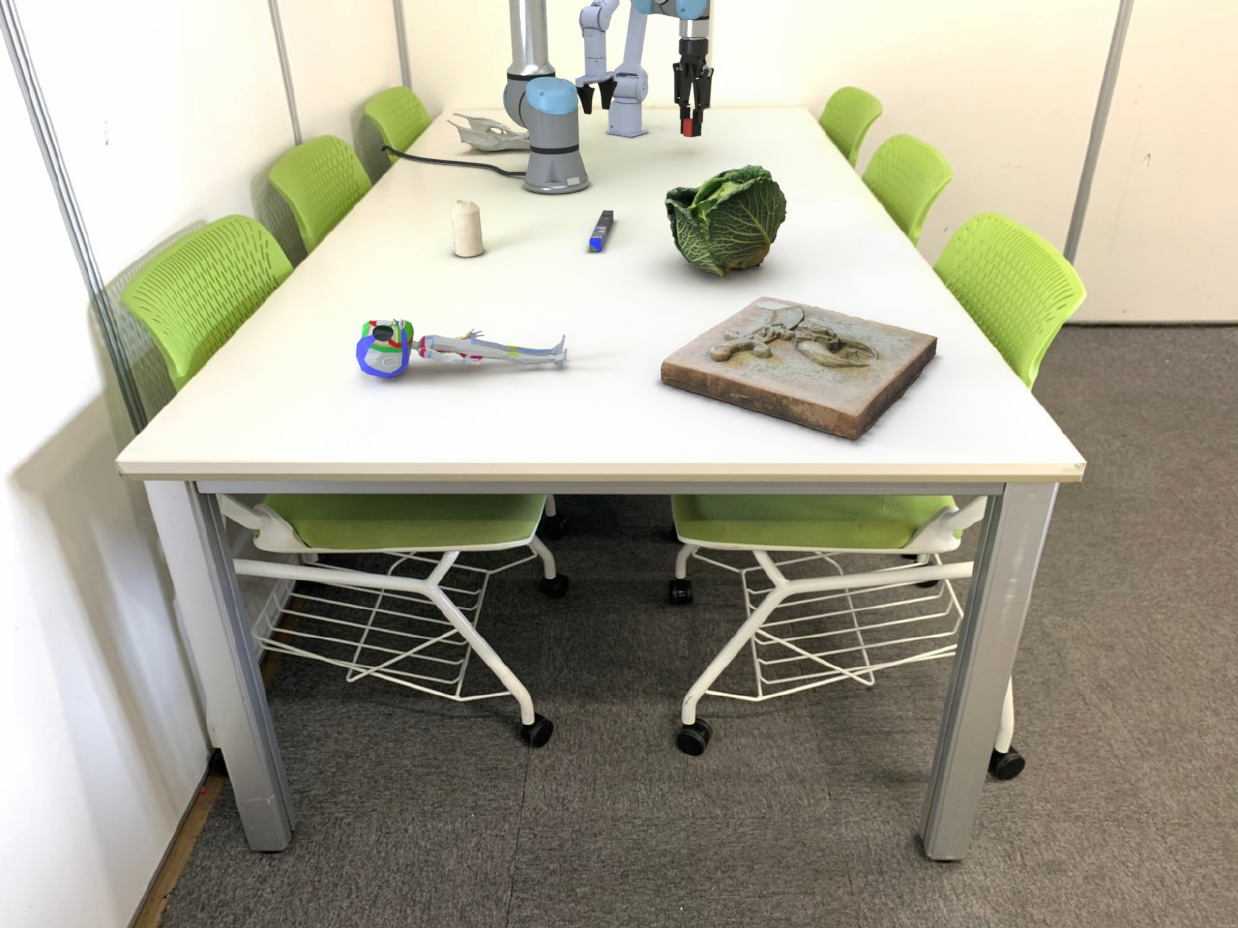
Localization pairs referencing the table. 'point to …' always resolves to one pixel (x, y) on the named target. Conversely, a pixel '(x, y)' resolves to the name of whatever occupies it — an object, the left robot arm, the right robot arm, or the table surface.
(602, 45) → the right robot arm
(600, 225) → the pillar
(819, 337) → the plaque
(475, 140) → the anatomical model
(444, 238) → the table surface
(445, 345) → the toy
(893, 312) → the table surface
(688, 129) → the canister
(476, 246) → the candle
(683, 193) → the vegetable
